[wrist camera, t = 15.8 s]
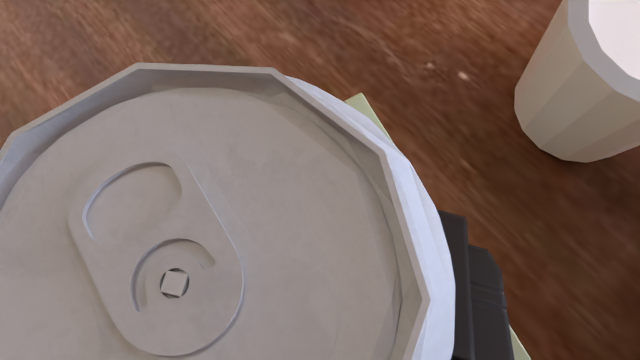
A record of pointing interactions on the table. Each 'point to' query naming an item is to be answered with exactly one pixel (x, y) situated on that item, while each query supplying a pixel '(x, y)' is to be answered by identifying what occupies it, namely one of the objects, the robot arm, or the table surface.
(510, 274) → the table surface
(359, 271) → the beer can
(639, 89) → the white cup
